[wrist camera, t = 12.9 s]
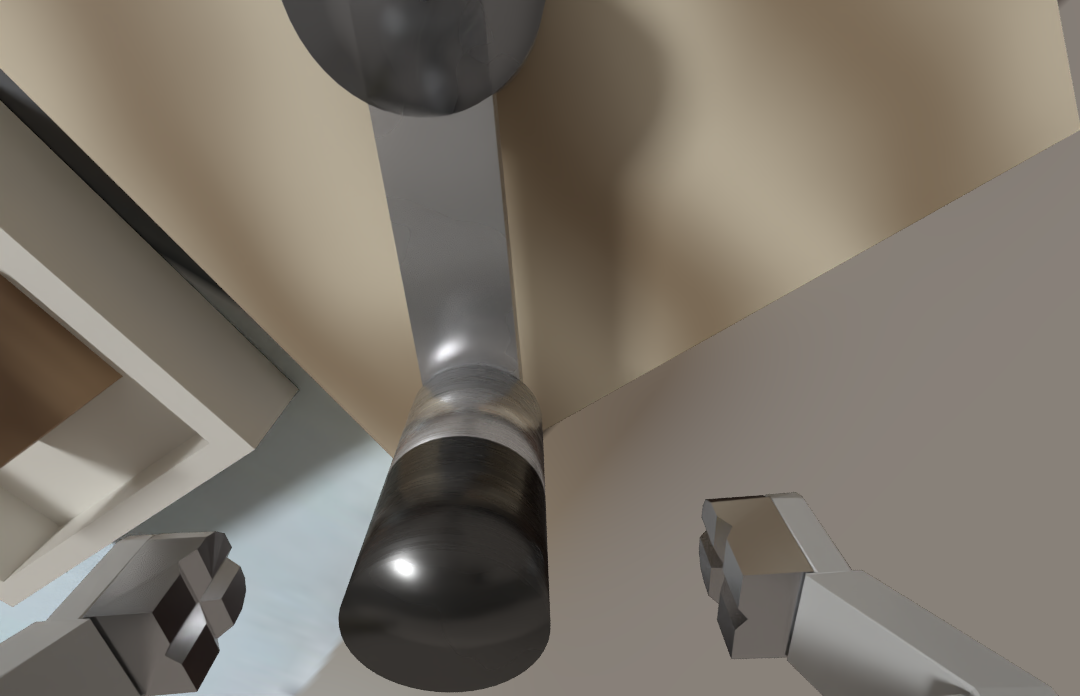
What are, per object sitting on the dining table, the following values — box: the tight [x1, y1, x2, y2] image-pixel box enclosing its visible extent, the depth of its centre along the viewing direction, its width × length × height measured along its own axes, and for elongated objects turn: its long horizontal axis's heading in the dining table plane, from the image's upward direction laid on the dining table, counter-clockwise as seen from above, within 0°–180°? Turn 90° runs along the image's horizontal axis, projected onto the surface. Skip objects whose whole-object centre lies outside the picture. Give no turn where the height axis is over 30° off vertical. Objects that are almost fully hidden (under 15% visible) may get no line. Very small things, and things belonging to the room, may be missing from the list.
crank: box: [282, 0, 550, 692], centre depth 9 cm, size 11×4×8 cm, turn 4°
